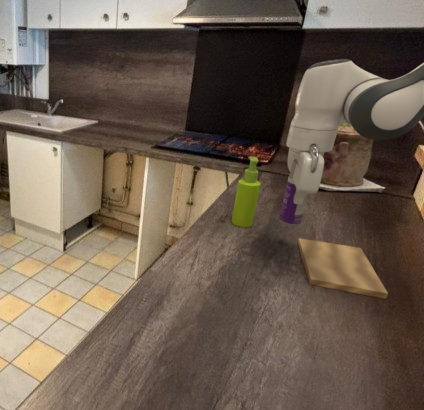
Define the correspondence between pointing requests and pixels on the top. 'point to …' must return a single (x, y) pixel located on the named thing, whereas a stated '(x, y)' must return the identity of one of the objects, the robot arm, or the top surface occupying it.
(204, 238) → the top surface
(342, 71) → the robot arm
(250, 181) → the soap dispenser
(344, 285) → the cutting board
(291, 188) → the container
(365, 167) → the cookie jar
